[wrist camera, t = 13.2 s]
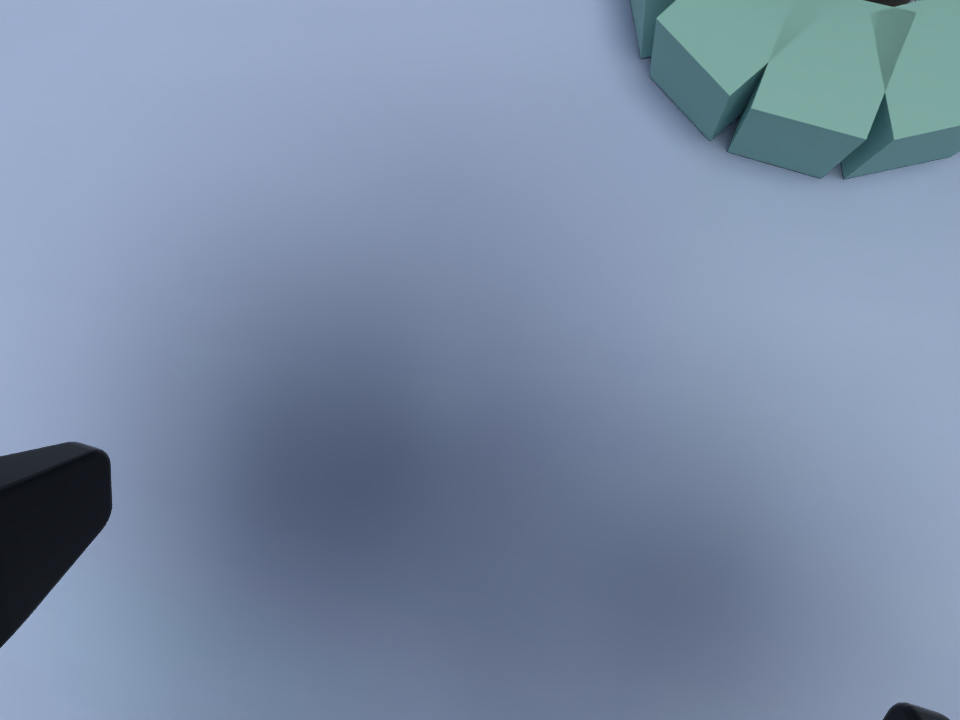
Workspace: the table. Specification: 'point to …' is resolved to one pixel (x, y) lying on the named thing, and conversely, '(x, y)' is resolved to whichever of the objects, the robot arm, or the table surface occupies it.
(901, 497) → the table surface
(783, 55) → the teal bead
